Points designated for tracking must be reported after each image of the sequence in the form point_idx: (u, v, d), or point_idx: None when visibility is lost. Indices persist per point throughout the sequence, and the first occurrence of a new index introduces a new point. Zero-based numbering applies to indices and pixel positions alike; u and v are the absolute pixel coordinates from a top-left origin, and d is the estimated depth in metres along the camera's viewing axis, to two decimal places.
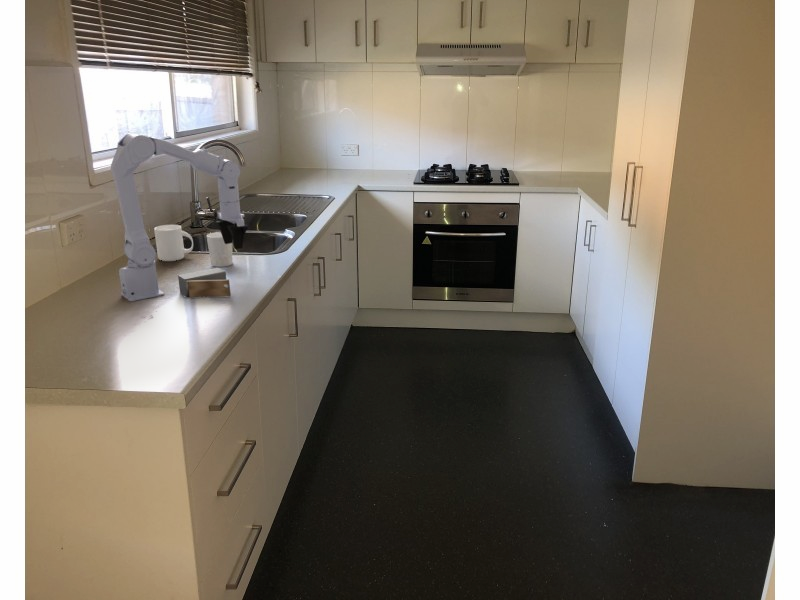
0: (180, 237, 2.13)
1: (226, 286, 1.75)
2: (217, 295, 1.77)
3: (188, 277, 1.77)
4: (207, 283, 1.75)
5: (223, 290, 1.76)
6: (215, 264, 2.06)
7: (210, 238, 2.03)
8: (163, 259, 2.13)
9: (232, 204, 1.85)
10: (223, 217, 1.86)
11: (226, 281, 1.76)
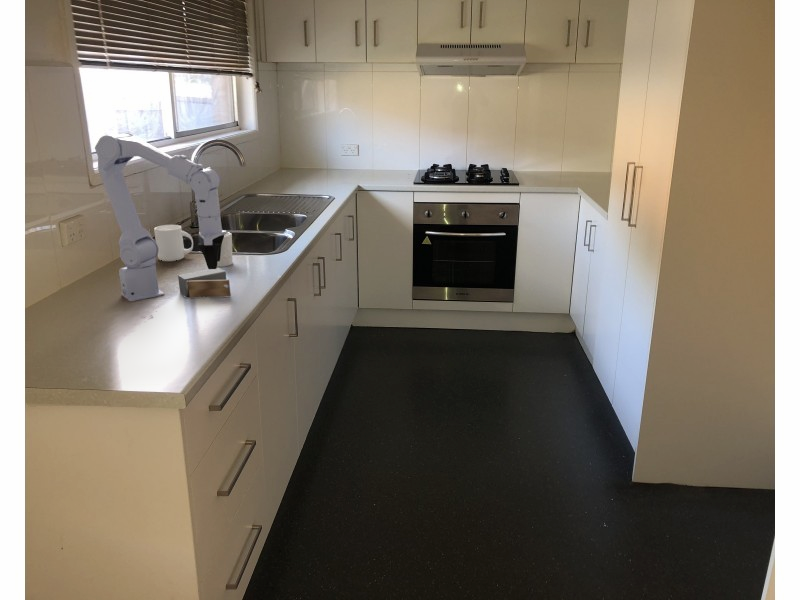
0: (180, 237, 2.13)
1: (226, 286, 1.75)
2: (217, 295, 1.77)
3: (188, 277, 1.77)
4: (207, 283, 1.75)
5: (223, 290, 1.76)
6: None
7: None
8: (163, 259, 2.13)
9: (206, 219, 1.65)
10: (199, 233, 1.68)
11: (226, 281, 1.76)
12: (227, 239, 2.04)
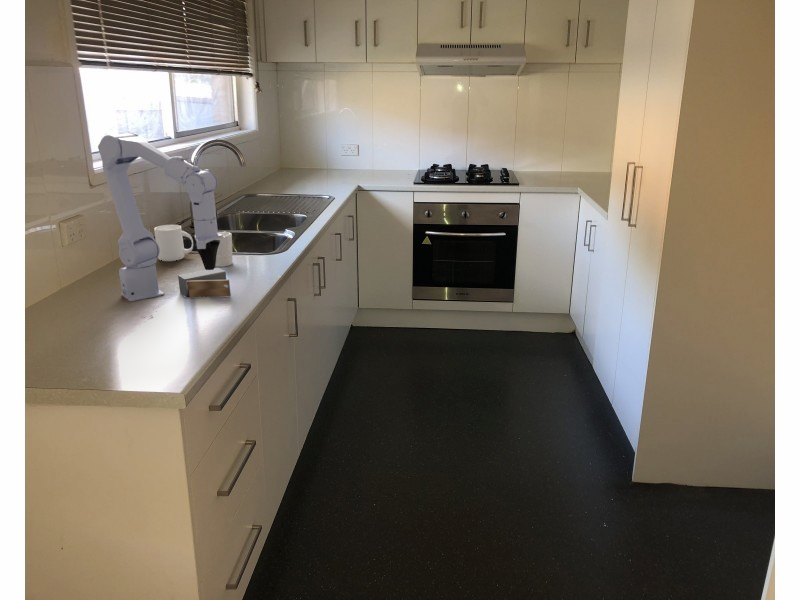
0: (180, 237, 2.13)
1: (226, 286, 1.75)
2: (217, 295, 1.77)
3: (188, 277, 1.77)
4: (207, 283, 1.75)
5: (223, 290, 1.76)
6: None
7: None
8: (163, 259, 2.13)
9: (201, 222, 1.62)
10: (195, 236, 1.65)
11: (226, 281, 1.76)
12: (227, 239, 2.04)
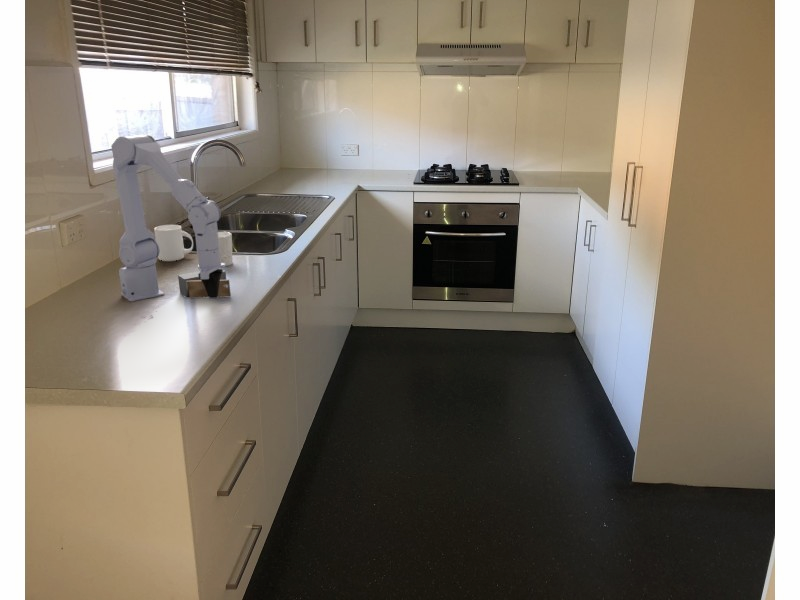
0: (180, 237, 2.13)
1: (226, 286, 1.75)
2: None
3: (188, 277, 1.77)
4: None
5: (223, 290, 1.76)
6: None
7: None
8: (163, 259, 2.13)
9: (204, 253, 1.65)
10: (198, 265, 1.67)
11: (226, 281, 1.76)
12: (227, 239, 2.04)
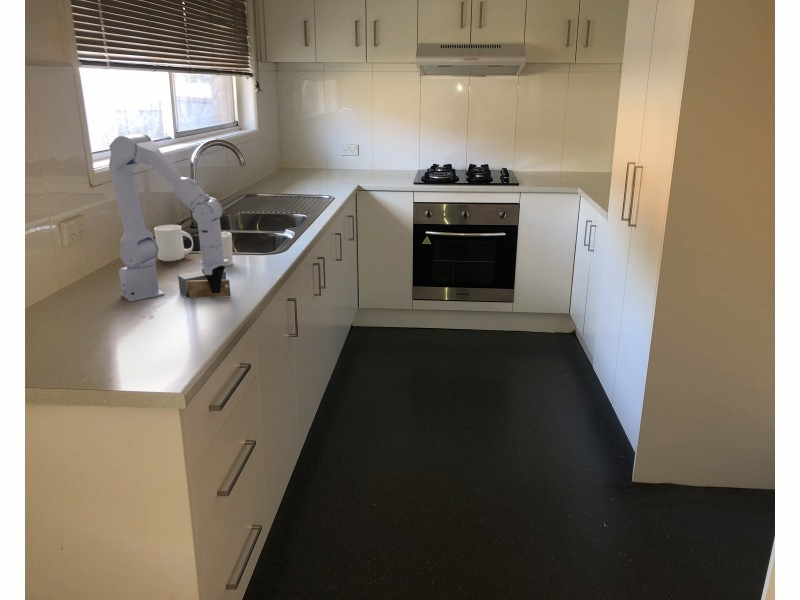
0: (180, 237, 2.13)
1: (226, 286, 1.75)
2: (217, 295, 1.77)
3: (188, 277, 1.77)
4: (207, 283, 1.75)
5: (223, 290, 1.76)
6: None
7: None
8: (163, 259, 2.13)
9: (208, 249, 1.68)
10: (201, 261, 1.71)
11: (226, 281, 1.76)
12: (227, 239, 2.04)
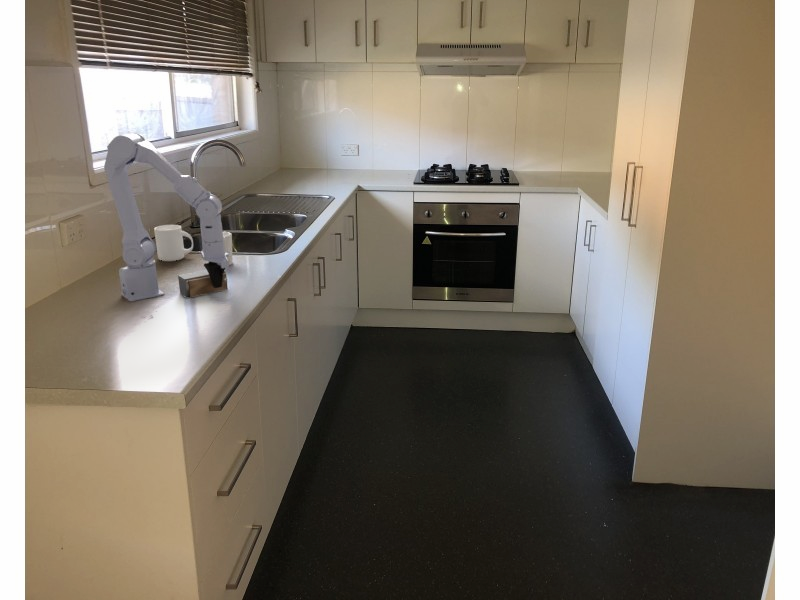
0: (180, 237, 2.13)
1: (226, 279, 1.81)
2: (216, 290, 1.81)
3: (188, 277, 1.77)
4: (207, 279, 1.78)
5: None
6: None
7: None
8: (163, 259, 2.13)
9: (216, 244, 1.73)
10: (206, 258, 1.75)
11: (224, 274, 1.81)
12: (227, 239, 2.04)
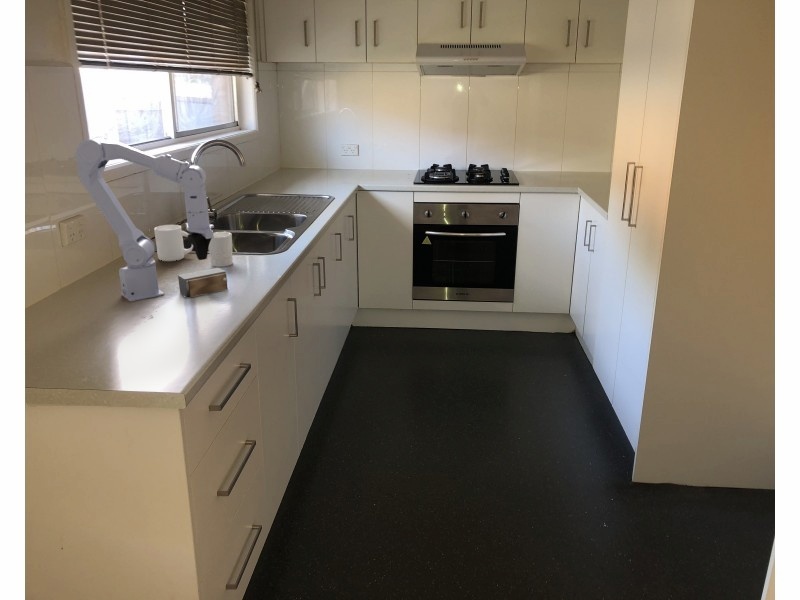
0: (180, 237, 2.13)
1: (226, 279, 1.81)
2: (216, 290, 1.81)
3: (188, 277, 1.77)
4: (207, 279, 1.78)
5: (221, 284, 1.82)
6: (215, 264, 2.06)
7: None
8: (163, 259, 2.13)
9: (200, 214, 1.72)
10: (190, 228, 1.73)
11: (224, 274, 1.81)
12: (227, 239, 2.04)
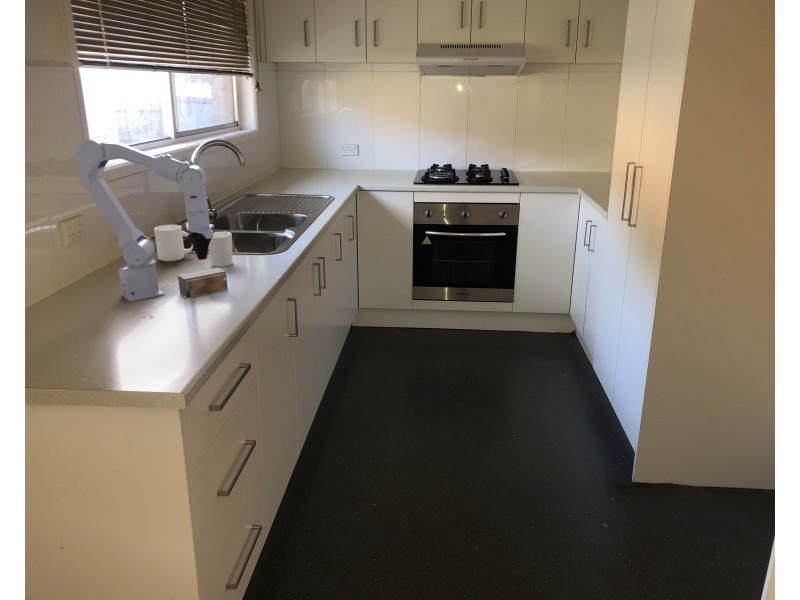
0: (180, 237, 2.13)
1: (226, 279, 1.81)
2: (216, 290, 1.81)
3: (188, 277, 1.77)
4: (207, 279, 1.78)
5: (221, 284, 1.82)
6: (215, 264, 2.06)
7: None
8: (163, 259, 2.13)
9: (200, 214, 1.72)
10: (190, 228, 1.73)
11: (224, 274, 1.81)
12: (227, 239, 2.04)
